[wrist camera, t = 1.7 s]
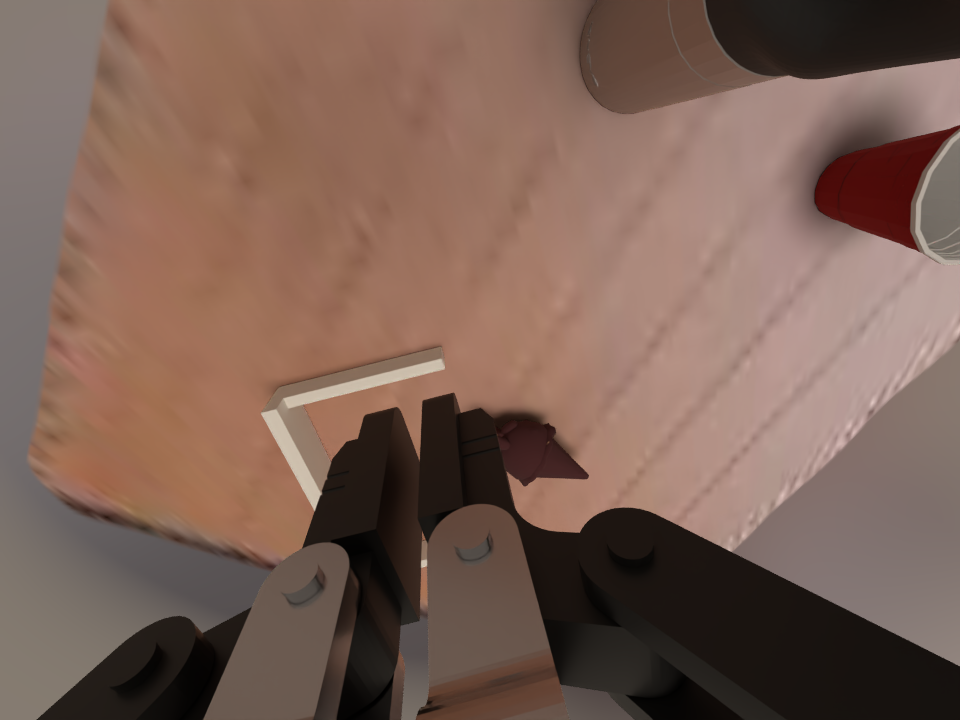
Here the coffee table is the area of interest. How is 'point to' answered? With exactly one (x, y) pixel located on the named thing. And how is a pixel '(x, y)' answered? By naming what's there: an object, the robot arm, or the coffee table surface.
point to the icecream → (535, 453)
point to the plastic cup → (900, 193)
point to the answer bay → (288, 401)
